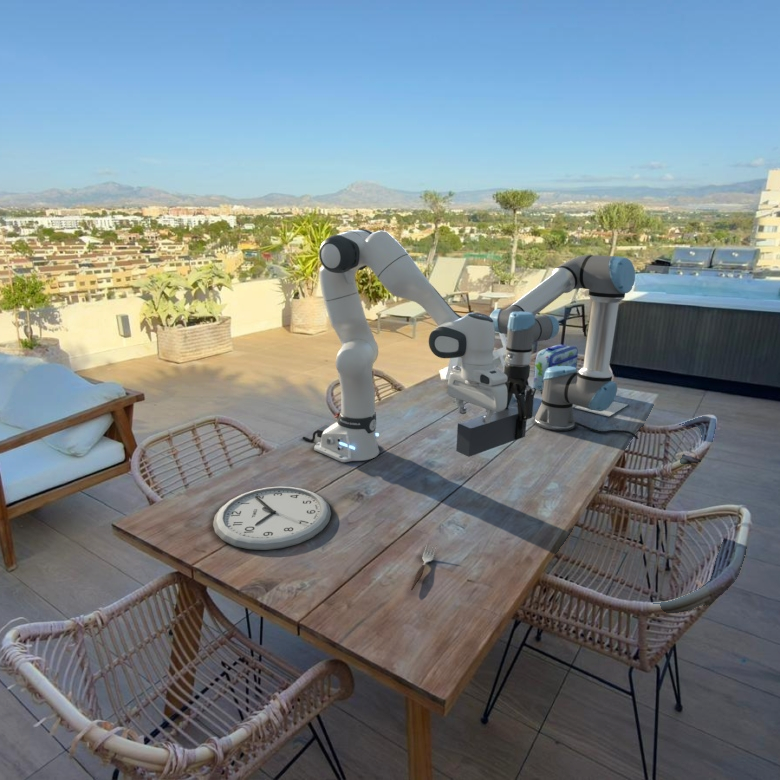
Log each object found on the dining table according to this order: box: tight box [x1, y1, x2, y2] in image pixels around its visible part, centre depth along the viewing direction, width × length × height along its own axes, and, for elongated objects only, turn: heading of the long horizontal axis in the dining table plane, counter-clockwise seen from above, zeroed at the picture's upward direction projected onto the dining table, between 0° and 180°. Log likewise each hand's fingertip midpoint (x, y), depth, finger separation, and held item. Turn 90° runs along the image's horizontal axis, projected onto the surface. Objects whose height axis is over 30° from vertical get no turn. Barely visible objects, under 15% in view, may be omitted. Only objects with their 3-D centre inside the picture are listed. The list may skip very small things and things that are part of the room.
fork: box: [410, 542, 438, 591], centre depth 116 cm, size 3×16×2 cm, turn 160°
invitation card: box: [573, 400, 629, 418], centre depth 226 cm, size 21×1×15 cm
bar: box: [455, 406, 528, 458], centre depth 158 cm, size 26×5×9 cm, turn 128°
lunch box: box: [533, 344, 579, 392], centre depth 247 cm, size 26×11×21 cm, turn 134°
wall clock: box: [212, 486, 332, 551], centre depth 136 cm, size 30×2×30 cm
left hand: (474, 417), depth 151 cm, fingers open, 8 cm apart
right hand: (511, 435), depth 164 cm, fingers closed on bar, 5 cm apart
